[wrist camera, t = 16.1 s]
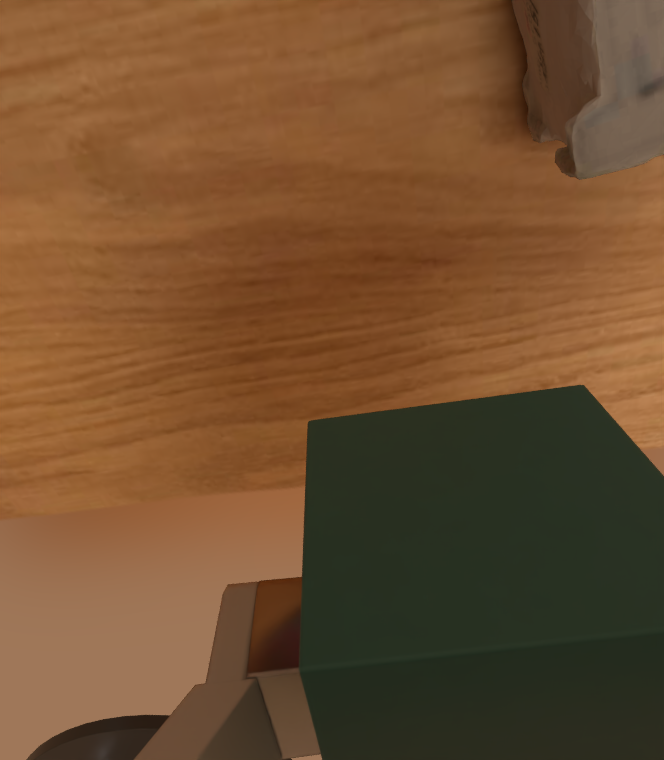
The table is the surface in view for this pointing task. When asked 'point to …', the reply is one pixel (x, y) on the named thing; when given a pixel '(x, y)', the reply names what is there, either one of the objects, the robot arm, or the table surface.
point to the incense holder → (595, 81)
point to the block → (483, 583)
